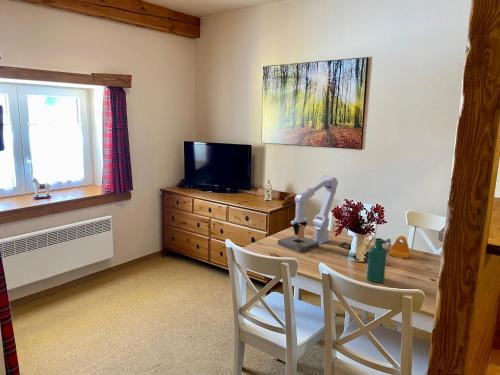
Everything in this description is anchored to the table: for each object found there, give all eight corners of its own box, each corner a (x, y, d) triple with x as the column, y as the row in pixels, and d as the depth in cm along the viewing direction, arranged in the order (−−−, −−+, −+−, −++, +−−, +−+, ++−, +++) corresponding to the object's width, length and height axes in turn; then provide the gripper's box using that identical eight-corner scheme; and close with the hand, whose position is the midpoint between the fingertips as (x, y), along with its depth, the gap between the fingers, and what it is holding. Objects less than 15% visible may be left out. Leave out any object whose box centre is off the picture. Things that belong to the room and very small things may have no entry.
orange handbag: (388, 255, 232) (390, 237, 230) (391, 252, 238) (393, 234, 236) (407, 259, 227) (409, 240, 225) (409, 256, 233) (411, 237, 231)
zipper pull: (343, 241, 236) (384, 251, 221) (343, 251, 237) (383, 261, 222) (337, 245, 229) (378, 255, 214) (336, 255, 230) (377, 266, 215)
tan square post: (298, 235, 248) (299, 224, 246) (303, 237, 244) (304, 225, 243) (294, 237, 245) (294, 225, 243) (299, 238, 241) (299, 226, 240)
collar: (297, 239, 259) (297, 234, 258) (318, 246, 245) (319, 242, 244) (277, 244, 246) (277, 240, 246) (299, 252, 233) (299, 248, 232)
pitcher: (366, 281, 195) (369, 240, 191) (367, 274, 203) (371, 235, 199) (386, 284, 192) (390, 242, 187) (386, 278, 199) (390, 238, 195)
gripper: (302, 210, 249) (301, 230, 252) (287, 213, 240) (286, 234, 242) (311, 212, 244) (309, 232, 247) (296, 215, 235) (294, 236, 237)
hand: (298, 233), depth 244 cm, fingers closed on tan square post, 4 cm apart
